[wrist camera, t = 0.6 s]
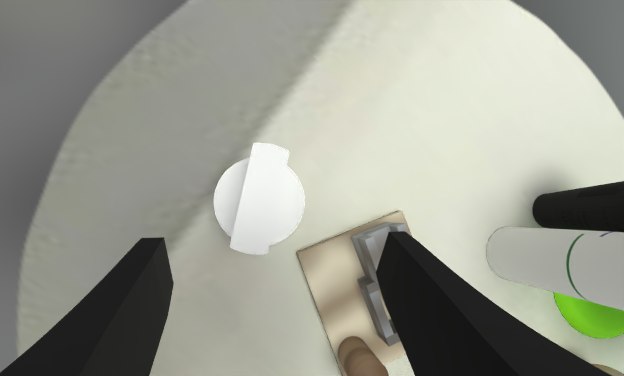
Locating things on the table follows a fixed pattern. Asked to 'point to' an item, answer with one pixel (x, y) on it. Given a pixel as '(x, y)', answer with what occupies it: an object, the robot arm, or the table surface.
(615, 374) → the decorative fruit
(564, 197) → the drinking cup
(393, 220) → the dock
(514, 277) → the cylindrical container
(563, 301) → the wineglass
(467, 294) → the robot arm
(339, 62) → the table surface
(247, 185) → the base with upright slab
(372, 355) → the peg
